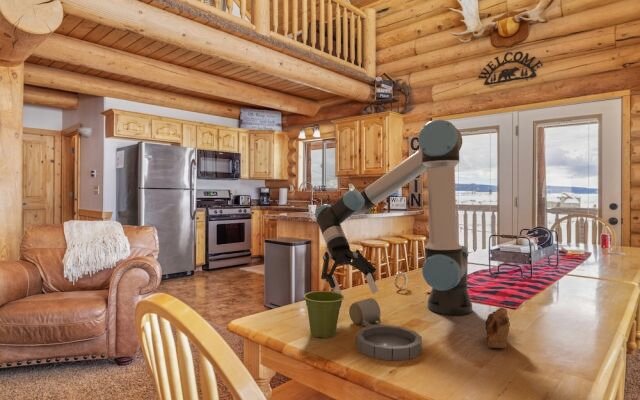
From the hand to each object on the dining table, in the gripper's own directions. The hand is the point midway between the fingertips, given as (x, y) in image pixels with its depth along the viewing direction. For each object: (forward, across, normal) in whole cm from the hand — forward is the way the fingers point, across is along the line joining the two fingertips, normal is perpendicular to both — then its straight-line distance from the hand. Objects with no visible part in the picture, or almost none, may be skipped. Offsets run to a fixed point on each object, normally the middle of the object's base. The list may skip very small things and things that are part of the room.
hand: (357, 293), depth 130 cm
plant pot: (+11, +16, -1) cm, 19 cm away
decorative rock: (+31, -24, +18) cm, 43 cm away
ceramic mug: (+10, -1, -3) cm, 10 cm away
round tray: (+22, +4, +10) cm, 25 cm away
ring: (-12, -37, -25) cm, 47 cm away
